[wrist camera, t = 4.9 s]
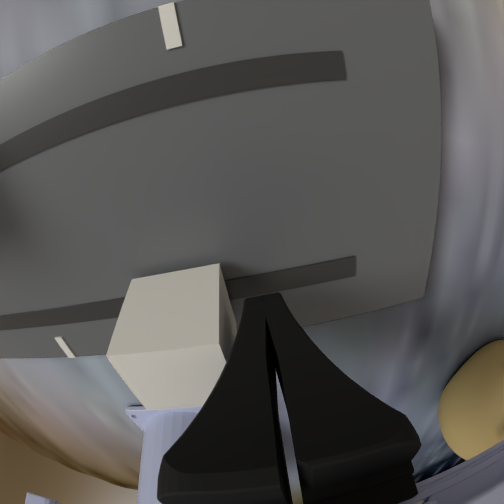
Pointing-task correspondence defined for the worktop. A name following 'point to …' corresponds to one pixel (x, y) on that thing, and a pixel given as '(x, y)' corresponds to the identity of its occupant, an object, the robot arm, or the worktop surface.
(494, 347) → the sculpture
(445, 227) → the worktop surface
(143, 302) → the cream fader
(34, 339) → the mixer console
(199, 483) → the robot arm
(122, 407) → the worktop surface
